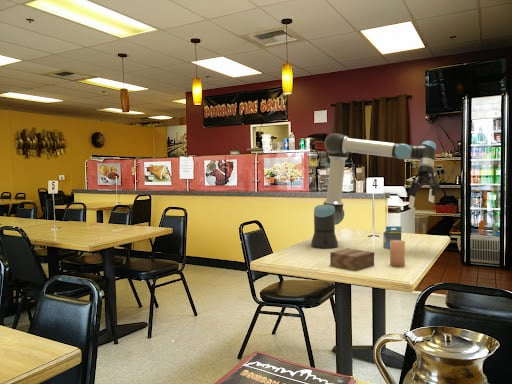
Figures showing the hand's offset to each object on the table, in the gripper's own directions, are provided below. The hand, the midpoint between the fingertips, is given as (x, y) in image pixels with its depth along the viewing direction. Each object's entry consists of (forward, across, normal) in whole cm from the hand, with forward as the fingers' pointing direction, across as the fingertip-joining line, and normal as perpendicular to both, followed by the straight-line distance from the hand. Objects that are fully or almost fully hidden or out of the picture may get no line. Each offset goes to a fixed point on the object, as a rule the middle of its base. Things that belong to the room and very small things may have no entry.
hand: (420, 204), depth 209 cm
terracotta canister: (+37, -4, +12) cm, 39 cm away
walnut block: (+42, +4, +30) cm, 52 cm away
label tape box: (+16, +28, -9) cm, 34 cm away
